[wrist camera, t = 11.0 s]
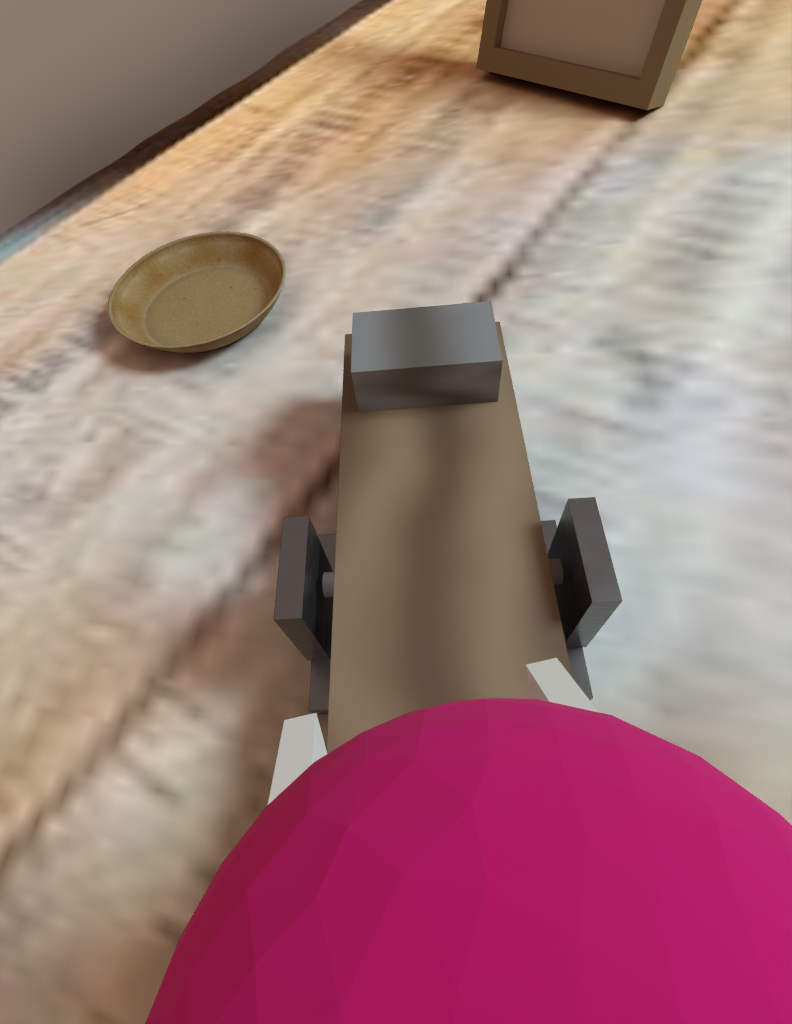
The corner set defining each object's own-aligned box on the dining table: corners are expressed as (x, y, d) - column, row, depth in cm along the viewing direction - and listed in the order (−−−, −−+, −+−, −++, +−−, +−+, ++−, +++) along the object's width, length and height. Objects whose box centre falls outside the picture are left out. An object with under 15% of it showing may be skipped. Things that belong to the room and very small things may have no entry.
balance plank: (506, 339, 35) (514, 277, 31) (668, 1104, 16) (737, 1183, 12) (340, 353, 36) (327, 294, 32) (301, 1105, 16) (258, 1180, 13)
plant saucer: (93, 365, 43) (74, 340, 41) (165, 254, 50) (152, 228, 48) (263, 379, 40) (252, 353, 38) (312, 260, 48) (306, 232, 45)
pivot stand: (555, 528, 31) (583, 453, 25) (592, 701, 26) (638, 662, 20) (318, 543, 32) (287, 473, 26) (309, 714, 27) (267, 680, 21)
